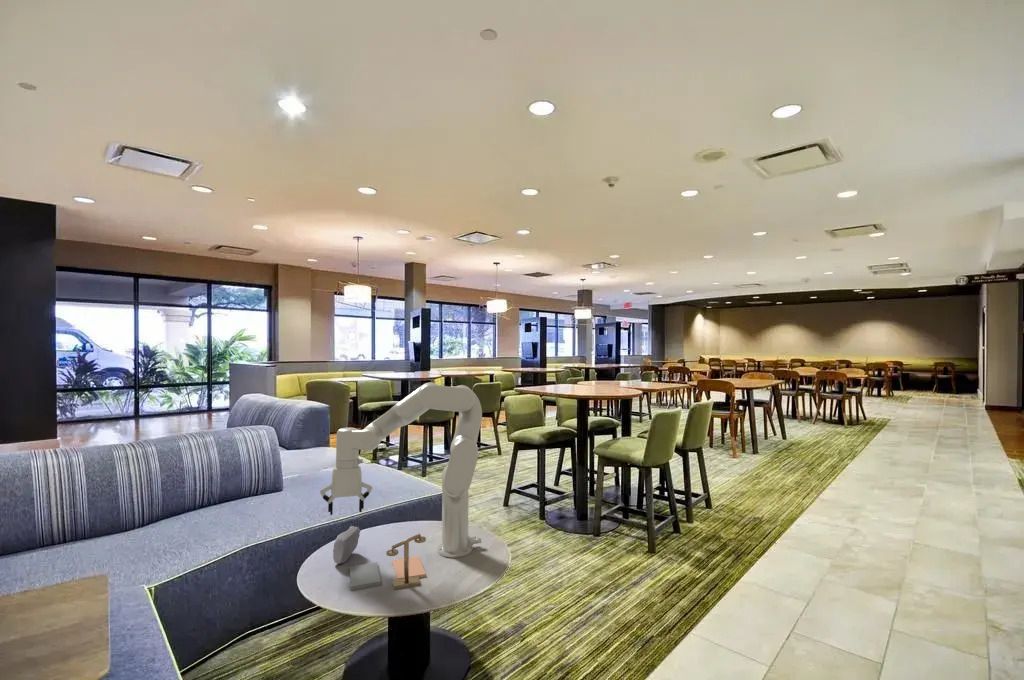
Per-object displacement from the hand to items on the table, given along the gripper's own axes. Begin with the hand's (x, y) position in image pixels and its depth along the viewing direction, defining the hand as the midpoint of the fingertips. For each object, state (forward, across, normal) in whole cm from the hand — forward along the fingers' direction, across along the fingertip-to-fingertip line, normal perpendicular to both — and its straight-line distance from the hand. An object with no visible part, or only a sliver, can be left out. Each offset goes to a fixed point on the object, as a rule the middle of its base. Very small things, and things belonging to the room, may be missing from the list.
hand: (346, 512), depth 168 cm
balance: (+16, -18, +25) cm, 35 cm away
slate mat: (+16, -6, +16) cm, 23 cm away
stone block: (+17, -1, 0) cm, 17 cm away
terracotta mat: (+16, -20, +16) cm, 30 cm away
